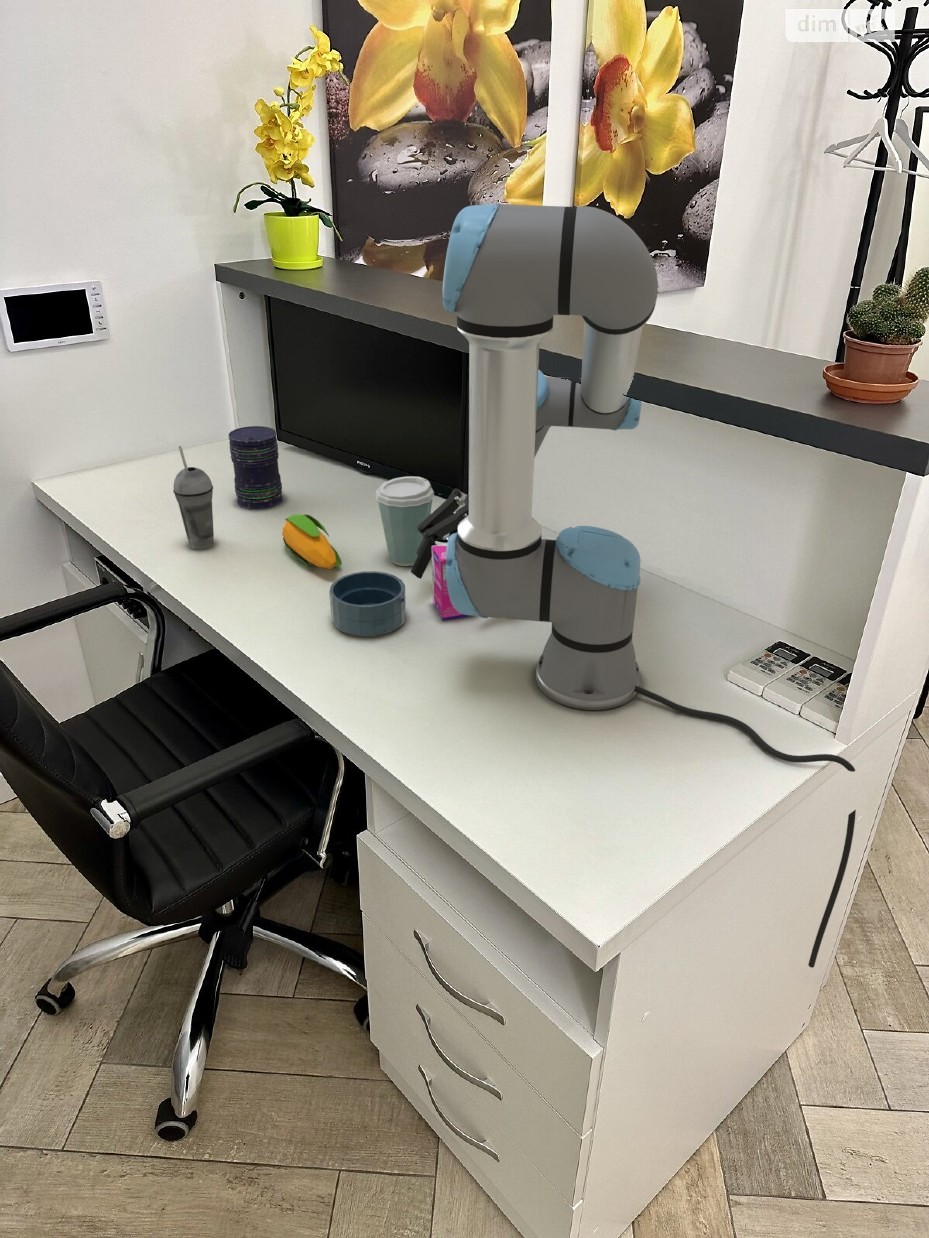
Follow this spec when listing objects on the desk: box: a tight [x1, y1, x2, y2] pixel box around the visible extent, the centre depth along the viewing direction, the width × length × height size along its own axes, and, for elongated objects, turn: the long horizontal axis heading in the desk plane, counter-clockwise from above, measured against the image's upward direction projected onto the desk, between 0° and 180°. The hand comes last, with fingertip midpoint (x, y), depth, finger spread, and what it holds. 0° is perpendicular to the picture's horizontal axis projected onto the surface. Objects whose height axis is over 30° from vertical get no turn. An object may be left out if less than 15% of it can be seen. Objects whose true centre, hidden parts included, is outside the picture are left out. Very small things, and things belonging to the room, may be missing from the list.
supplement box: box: [431, 543, 473, 621], centre depth 148 cm, size 6×6×12 cm
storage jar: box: [228, 425, 284, 511], centre depth 188 cm, size 10×10×15 cm
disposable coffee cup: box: [375, 475, 435, 567], centre depth 164 cm, size 11×11×15 cm
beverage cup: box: [172, 445, 215, 551], centre depth 167 cm, size 7×7×20 cm
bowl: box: [328, 570, 407, 637], centre depth 146 cm, size 12×12×6 cm
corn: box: [281, 513, 343, 570], centre depth 165 cm, size 7×8×20 cm
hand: (447, 587), depth 147 cm, fingers open, 13 cm apart
